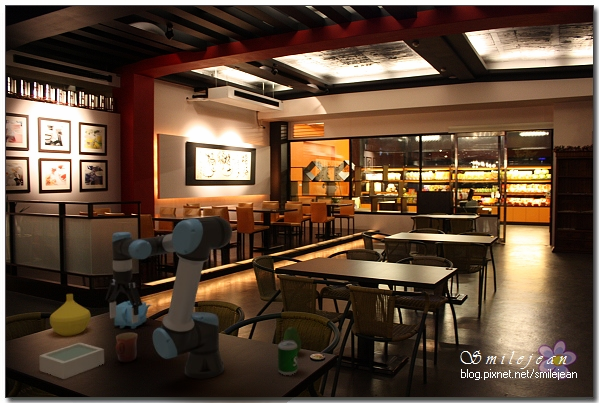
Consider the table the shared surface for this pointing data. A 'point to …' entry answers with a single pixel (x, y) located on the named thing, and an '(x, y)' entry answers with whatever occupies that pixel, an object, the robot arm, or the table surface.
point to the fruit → (293, 337)
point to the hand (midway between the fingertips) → (123, 320)
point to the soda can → (287, 357)
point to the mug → (126, 346)
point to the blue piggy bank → (129, 315)
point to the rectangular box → (71, 360)
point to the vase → (70, 318)
